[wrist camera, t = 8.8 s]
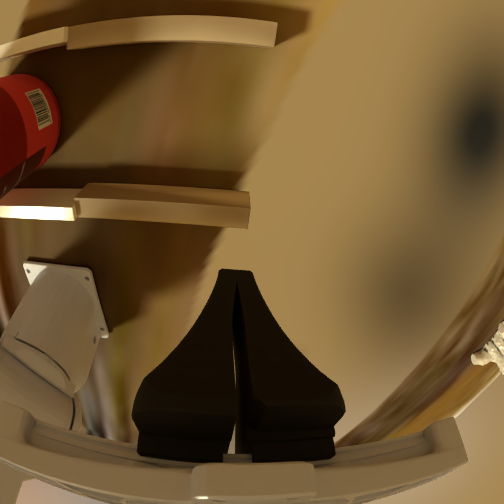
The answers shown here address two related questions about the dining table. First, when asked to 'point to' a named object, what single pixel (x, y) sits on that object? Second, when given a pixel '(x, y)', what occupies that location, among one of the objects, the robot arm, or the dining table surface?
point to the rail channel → (158, 196)
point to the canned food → (25, 127)
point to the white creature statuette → (492, 350)
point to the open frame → (38, 199)
